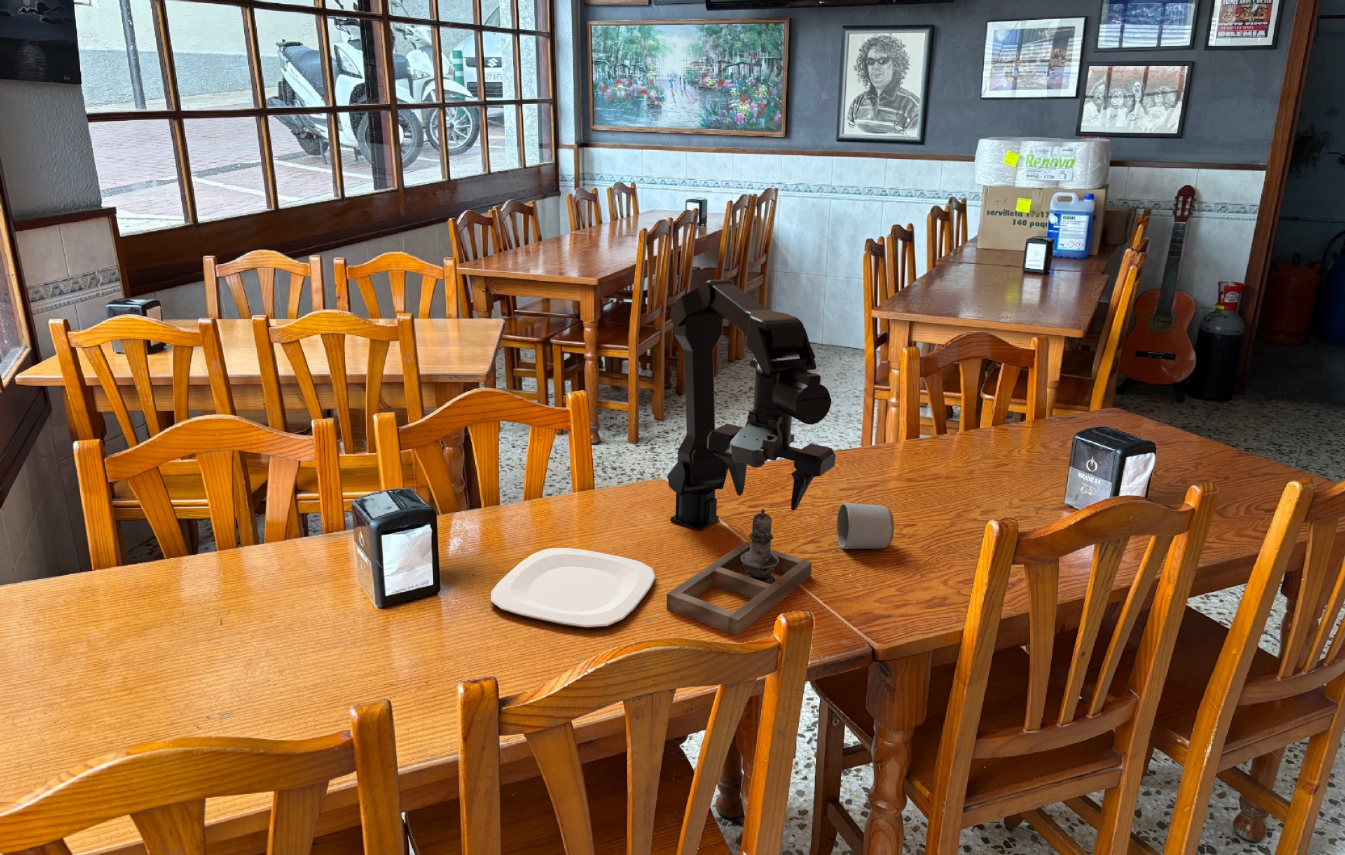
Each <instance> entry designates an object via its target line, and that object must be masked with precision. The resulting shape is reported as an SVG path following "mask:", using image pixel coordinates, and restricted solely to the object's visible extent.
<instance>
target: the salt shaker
mask: <svg viewBox="0 0 1345 855" xmlns="http://www.w3.org/2000/svg"><path fill="white" fill-rule="evenodd" d="M772 520H773V519H772V517H771V516H770V514H768V513H766V510H765V508H762V509H761V510H760V512H759V513H756V514H755V515H754V516H753V517H752V526H751V527H752V528H751V533H749V534H748V536H749V539H750V543H751V548H750V551H748V552H745V553H744V554H742V556H741V561H742V563H743V565H742V568H743V570H744V571H745V572H744V573H743V574H742V575H745V576H748V577H751V578H754V579H757V580H759V581H762V582H765V583H768V584H772V583H773V582H775V581H776V580H777V579H776V578H775V576H774V575H773V574H774V573H775V572H774V571H776V570H775V568H776V565H777V564H778V562H779V559H778V557H777V556H776V555H775V554H773V553H771V550H770V549H771V546H772V544H771V543H772V540H774V536H773V534H772V524H773V523H772V522H773V521H772Z"/></svg>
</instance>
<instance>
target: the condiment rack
mask: <svg viewBox="0 0 1345 855" xmlns="http://www.w3.org/2000/svg"><path fill="white" fill-rule="evenodd" d="M750 548H751V541H743V542H742V543H741V544H739V545H737V546H736V547H735V548H733V549H732V550H730V551H728V552H727V553H726V554H724V555H723V556H721V557H720V558H718V559H716V560H715V561H714V562H712V563H711V564H709V565H708V566H706V567H705V568H703V569H702V570H700V571H698V572H697V573H695V574H694V575H693V576H691V577H690V578H688V579H686V580H685V581H683V582H682V583H681V584H679V585H677V586H676V587H674V588H673V589H671V590H670V591H669V592H667V593H666V608H665V609H666V610H668V611H671V612H674V613H676V614H678V615H681V616H684V617H686V618H689V619H692V620H694V621H696V620H697V622H700V623H702V624H704V623H705V625H707V626H709V625H710V626H709V627H712V626H713V627H712V628H714V627H715V628H714V629H717V628H718V629H717V630H721V631H723V632H725V633H728V634H730V635H733V636H735V637H738V636H739V635H741V634H742V633H744V632H745V630H747V629H748V628H749V627H751V626H752V625H753V624H755V622H756V621H758V620H759V619H761V617H763V616H764V615H765V614H767V612H768V613H769V611H770V610H771V609H773V608H774V607H775V606H777V604H778V603H780V602H781V601H782V600H784V599H785V598H786V597H788V596H789V595H790V594H791V593H792V592H794V591H795V590H796V589H798V588H799V587H800V586H801V585H803V583H805V582H806V581H807V580H808V579H810V578H811V575H812V564H813V562H811V561H810V560H805V559H803V558H800V557H797V556H793V555H791V554H787V553H784V552H781V551H778V550H774V549H772V548H770V550H771V553H773V554H775V555H776V556H777V557H778V559H779V562H778V564H777V565H776V568H775V570H774V571H777V572H780V573H783V574H782V575H780V577H778V578H777V579H775V580H776V581H775V582H773V583H772V584H768V583H765V582H762V581H759V580H757V579H754V578H751V577H748V576H745V575H743V574H741V573H738V572H735V570H737V569H738V568H740V567H742V566H743V563H742V561H741V556H742V554H744V553H745V552H748V551H750ZM713 586H714V587H718V588H720V589H724V590H726V591H730V592H732V593H735V594H738V595H740V596H742V597H746V598H749V599H750V600H749V601H746V603H745V604H744V605H742V606H740V607H739V608H738V609H737V610H736V611H731V610H729V609H727V608H723V607H721V606H718V605H717V604H716V605H715V604H713V603H710V602H707V601H705V600H702V599H700V598H698V597H699V596H700V595H702V594H703V593H705V592H706V591H707V590H709V589H710V588H711V587H713Z"/></svg>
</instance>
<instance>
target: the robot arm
mask: <svg viewBox="0 0 1345 855" xmlns="http://www.w3.org/2000/svg"><path fill="white" fill-rule="evenodd" d="M670 320H671V323H672V327H673V335H674V337H675V338H676V340H677V341H678V342H679V344H680V346H681V347H682V349H683V353H684V354H683V356H684V387H685V392H684V393H685V419H686V421H685V422H686V423H685V424H686V435H685V437H684V438H683V440H682V441H681V444H680V445H679V448H678V449H677V462H676V464H675V465H674V466H673V468H672V469H671V470H670V471H669V473H668V474H667V481H668V487H669V488H670V489H671V490H672V491H674V492H675V513H674V514H675V515H673V516H671V517H670V518H669V521H670V522H673V523H675V524H679V525H682V526H685V527H688V528H691V529H694V530H697V531H701V530H703V529H705V528H707V527H708V526H710V525H711V524H713V523H714V522H716V521H718V520H719V519H720V516H719V515H717V509H718V508H717V507H718V499H717V498H716V491H717V490H723V489H724V487H725V483H726V480H727V476H728V471H729V473H730V476H731V480H732V483H733V486H734V490H735V493H736V495H737V496H742V495H743V493H744V489H745V485H746V478H747V468H748V467H747V466H750V467H752V468H754V469H755V468H756V469H758V468H761V467H762V466H764V464H765V462H767V461H768V460H770V461H774V462H776V461H777V459H778V458H781V459H785V460H789V461H793V467H794V469H795V470H793V471H792V472H791V473H790V474H791V476H792V479H793V483H792V484H793V485H792V490H791V491H792V493H791V500H790V509H791V511H796V510H797V509H798V507H799V505H800V503H801V502H802V500H803V497H804V496H805V493H806V491H807V490H808V487H809V486H810V484H811V483H812V481H813V480H814V479H815V478H816V477H821V476H822V475H824V474H825V473H827V472H828V471H830V470H832V468H834V467H835V465H836V458H837V457H836V453H835V451H834V449H833V448H832V447H828V446H824V445H820V444H815V443H813V442H812V443H809V444H807V445H806V446H804V447H802V448H798V447H794V446H791V444H792V443H793V442H795V434H792V424H793V423H792V420H793V419H796V420H797V421H799V422H801V423H803V424H805V425H815V424H818V423H820V422H821V421H823V420H824V419H825V418H826V416H827V415H828V414H829V412H830V409H831V405H832V398H831V394H830V391H829V390H828V388H827V387H826V386H825V385H823V384H821V379H822V376H821V375H820V374H818V373H815V372H811V371H815V370H817V364H816V360H815V358H816V355H815V353H814V350H813V348H812V346H811V342H810V340H809V339H810V338H809V337H808V334H807V330H806V328H805V325H804V324H803V322H802V321H801V320H800V318H798V317H796V316H793V315H792V314H791V315H790V314H789V313H786V312H780V311H774V310H770V309H767V308H766V307H765V306H764V305H762V304H761V303H759V302H758V301H757V300H755V299H754V298H753V297H751V296H750V295H749V294H747V293H746V292H745V291H743V290H742V289H741V288H739V287H738V286H737V283H736V282H735V281H734V280H731V279H727V278H725V279H708V280H706V281H703V282H702V283H701V284H700V285H699V286H698V287H697V288H695V289H693V290H690V291H688V292H687V293H685V294H683V295H681V296H680V297H679V298H677V300H676V301H675V303H674V304H673V305H672V307H671V308H670ZM725 320H727V321H728V322H730V323H731V324H732V325H733V326H734V327H736V328H737V330H739V331H740V332H741V333H743V335H744V336H745V337H746V338H745V346H746V347H747V348H748V349H749V351H750V352H751V353H752V354H753V356H754V358H752V359H751V360H750V361H749V362H748V363H749V367H751V368H753V369H755V374H754V389H753V391H754V392H753V393H754V394H753V405H752V406H753V407H752V409H751V410H749V411H748V415H747V418H746V419H747V421H746V423H745V426H741V425H740V426H739V425H737V424H736V425H735V424H732V423H731V424H730V423H725V424H723V425H721V426H719V427H717V428H716V415H715V414H716V412H715V411H716V410H715V405H716V404H715V373H714V372H715V371H714V370H715V368H714V366H715V365H714V364H715V363H714V349H715V348H716V346H717V344H718V343H719V340H720V339H721V337H722V336H723V328H724V327H723V326H724V321H725ZM797 357H799V358H797ZM788 358H790V359H788ZM791 358H792V359H791Z"/></svg>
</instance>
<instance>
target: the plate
mask: <svg viewBox="0 0 1345 855" xmlns="http://www.w3.org/2000/svg"><path fill="white" fill-rule="evenodd" d="M655 580H656V576H655V572H654V568H652V567H651V566H648V565H647V564H645V563H643V562H641V561H639V560H635V559H631V558H627V557H625V556H621V555H620V556H619V555H614V554H608V553H604V552H597V551H592V550H587V549H581V548H579V549H578V548H573V547H572V548H569V547H554V548H552V547H551V548H545V549H543V550H539V551H537V552H534V553H532V554H531V555H529V556H528V557H526V558H524V559H523V560H522V561H521V562H519V563H518V564H517V565H516V566H515V567H513V568H512V569H511V570H510V571H509V572H508V573H507V574H506V575H504V577H502V578H501V579H500V580H499V581H498V583H497V584H496V585H495V586H494V587H493V589H491V592H490V603H491V604H493V605H495V606H496V608H499V610H501V611H503V612H507V613H511V614H514V615H517V616H520V617H524V618H529V619H532V620H538V621H542V622H547V623H551V624H557V625H560V626H567V627H576V628H580V629H581V628H582V629H583V628H584V629H593V628H594V629H595V628H607V627H610V626H612V625H614V624H617V623H619V622H622V621H624V620H625V619H626V618H627V617H628V616H629V615H630V614H631V613H632V612H633V611H634V610H636V608H637V606H639V604H640V603H641V601H643V599H644V597H645V596H646V595H647V594H648V592H649V591H650V590H651V588H652V586H653V584H654V582H655Z"/></svg>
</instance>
